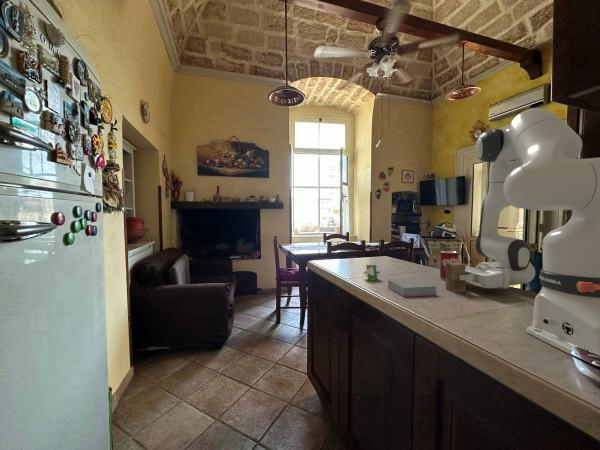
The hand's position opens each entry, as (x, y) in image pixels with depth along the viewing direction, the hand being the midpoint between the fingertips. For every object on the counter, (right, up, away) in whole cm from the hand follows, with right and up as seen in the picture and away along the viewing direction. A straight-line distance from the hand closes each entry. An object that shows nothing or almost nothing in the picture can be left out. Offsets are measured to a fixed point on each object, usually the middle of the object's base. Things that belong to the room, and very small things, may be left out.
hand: (453, 275), depth 94 cm
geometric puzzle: (-24, -6, +20) cm, 32 cm away
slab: (-15, -6, +1) cm, 16 cm away
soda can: (+9, -5, +18) cm, 21 cm away
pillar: (+1, -5, 0) cm, 6 cm away
